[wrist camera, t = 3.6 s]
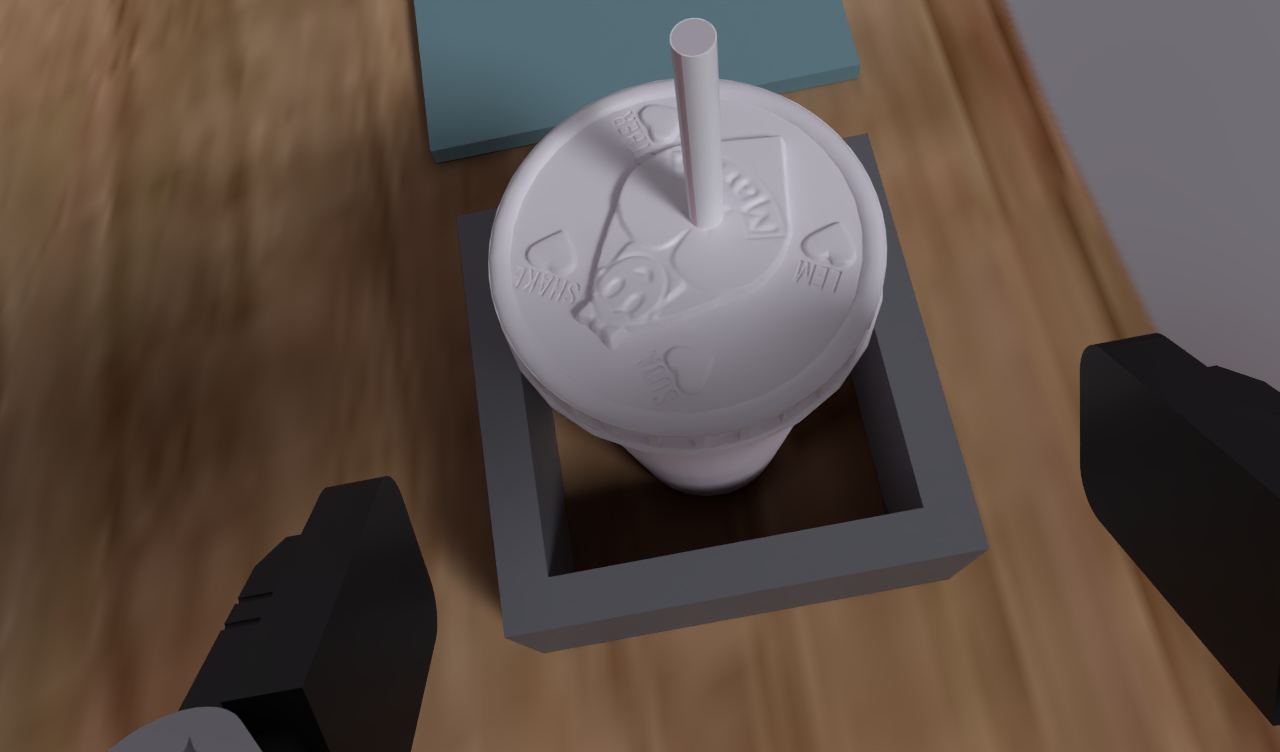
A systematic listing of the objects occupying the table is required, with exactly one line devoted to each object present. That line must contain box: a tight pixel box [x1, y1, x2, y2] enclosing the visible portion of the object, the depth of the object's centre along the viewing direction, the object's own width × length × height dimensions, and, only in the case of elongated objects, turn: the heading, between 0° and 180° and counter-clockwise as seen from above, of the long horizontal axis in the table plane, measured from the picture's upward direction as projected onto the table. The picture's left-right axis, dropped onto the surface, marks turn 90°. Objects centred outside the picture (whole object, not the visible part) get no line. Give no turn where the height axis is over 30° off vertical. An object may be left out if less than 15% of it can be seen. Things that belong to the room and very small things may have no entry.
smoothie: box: [488, 18, 887, 496], centre depth 18 cm, size 6×6×14 cm
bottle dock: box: [456, 133, 989, 653], centre depth 23 cm, size 10×10×4 cm
